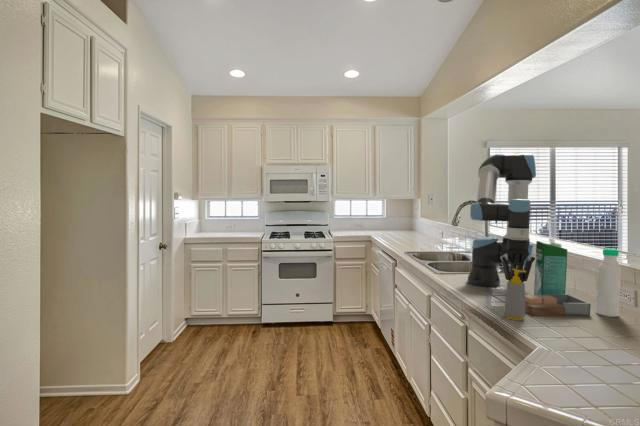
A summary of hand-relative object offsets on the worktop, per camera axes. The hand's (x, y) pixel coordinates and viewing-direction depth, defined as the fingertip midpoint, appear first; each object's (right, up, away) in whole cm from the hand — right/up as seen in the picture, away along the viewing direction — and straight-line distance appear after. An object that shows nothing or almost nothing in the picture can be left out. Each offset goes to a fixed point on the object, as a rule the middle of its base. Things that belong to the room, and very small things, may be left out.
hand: (515, 298), depth 152 cm
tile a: (+7, -1, 0) cm, 7 cm away
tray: (+20, -5, 0) cm, 20 cm away
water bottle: (+32, -5, -5) cm, 33 cm away
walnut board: (+9, -4, 0) cm, 10 cm away
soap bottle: (-6, -5, -11) cm, 13 cm away
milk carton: (+21, -4, +14) cm, 26 cm away
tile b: (+12, -1, 0) cm, 12 cm away
